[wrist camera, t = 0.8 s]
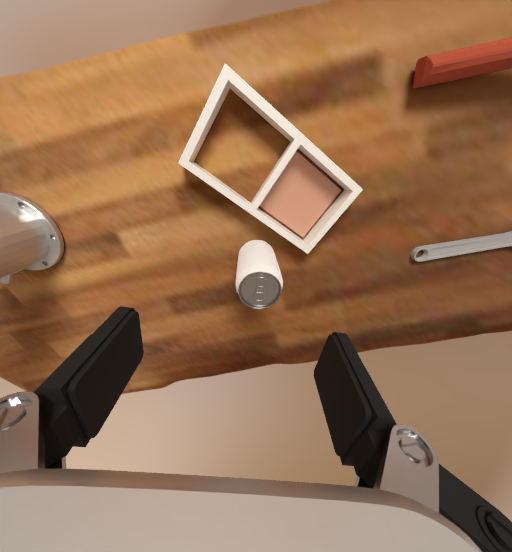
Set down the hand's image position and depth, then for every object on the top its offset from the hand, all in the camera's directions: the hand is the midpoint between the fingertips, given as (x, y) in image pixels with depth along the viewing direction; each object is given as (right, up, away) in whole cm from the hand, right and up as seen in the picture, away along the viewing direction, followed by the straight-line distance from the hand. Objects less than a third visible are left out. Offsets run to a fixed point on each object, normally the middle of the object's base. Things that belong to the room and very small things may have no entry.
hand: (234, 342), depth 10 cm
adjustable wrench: (+42, +10, +28) cm, 51 cm away
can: (+1, +7, +27) cm, 28 cm away
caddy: (+4, +18, +21) cm, 28 cm away
